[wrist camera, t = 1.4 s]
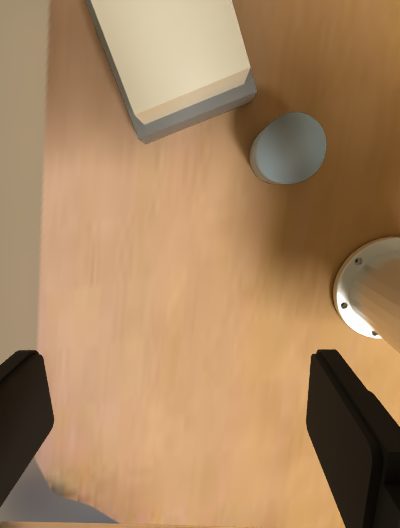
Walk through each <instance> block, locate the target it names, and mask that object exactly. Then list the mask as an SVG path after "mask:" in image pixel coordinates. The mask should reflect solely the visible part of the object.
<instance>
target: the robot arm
mask: <svg viewBox="0 0 400 528" xmlns="http://www.w3.org/2000/svg"><path fill="white" fill-rule="evenodd" d="M355 260H356V261H355ZM333 300H334V305H335V308H336V310H337V313H338V315H339V316H340V317H341V319H342V320H343V321H344V322H345V323H346V324H347V325H348V326H349V327H350V328H351V329H353V330H354V331H355V332H357V333H359V334H361V335H364V336H366V337H370V338H379V339H384V340H385V341H386V342H387V343H389V344H390V345H391V346H392V347H393V348H394V349H396V350H397V351H398V352H399V353H400V237H385V238H380V239H377V240H374V241H371V242H369V243H367V244H365V245H363V246H361V247H360V248H358V249H357V250H356V251H355V252H353V253H352V254H351V255H350V256H349V257H348V258H347V259H346V260H345V262H344V263H343V265H342V266H341V268H340V269H339V271H338V274H337V276H336V279H335V282H334V287H333ZM341 303H342V304H341ZM53 424H54V415H53V410H52V404H51V398H50V393H49V387H48V382H47V376H46V371H45V365H44V359H43V356H42V355H39V353H38V352H37V351H36V350H19V351H17V352H15V353H14V354H13V355H12V356H10V357H9V358H8V359H7V360H6V361H5V362H3V363H2V364H1V365H0V507H1V505H2V504H3V502H4V501H5V499H6V498H7V496H8V495H9V493H10V491H11V490H12V489H13V487H14V486H15V484H16V483H17V481H18V480H19V478H20V477H21V475H22V474H23V472H24V471H25V469H26V467H27V466H28V464H29V463H30V461H31V460H32V458H33V457H34V455H35V454H36V452H37V451H38V449H39V448H40V446H41V445H42V443H43V442H44V440H45V439H46V437H47V436H48V434H49V433H50V431H51V429H52V427H53ZM306 425H307V430H308V433H309V436H310V438H311V441H312V443H313V446H314V449H315V451H316V454H317V456H318V459H319V461H320V464H321V466H322V469H323V471H324V474H325V476H326V479H327V481H328V484H329V487H330V489H331V492H332V494H333V497H334V499H335V502H336V504H337V507H338V509H339V512H340V514H341V517H342V519H343V522H344V524H345V527H346V528H400V427H399V426H398V424H397V423H396V422H395V420H394V419H393V418H392V417H391V415H390V414H389V413H388V412H387V410H386V409H385V408H384V406H383V405H382V404H381V403H380V401H379V400H378V399H377V398H376V396H375V395H374V394H373V393H372V392H370V391H368V390H367V389H366V387H365V386H364V385H363V384H362V382H361V381H360V380H359V378H358V377H357V376H356V374H355V373H354V372H353V371H352V369H351V368H350V367H349V365H348V364H347V363H346V361H345V360H344V359H343V358H342V356H341V355H340V354H339V352H338V351H337V350H334V349H332V350H317V353H316V354H312V356H311V365H310V377H309V390H308V403H307V416H306ZM0 528H255V527H221V526H187V525H147V524H104V523H103V524H101V523H57V522H55V523H54V522H0Z"/></svg>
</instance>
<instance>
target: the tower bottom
mask: <svg viewBox="0 0 400 528" xmlns="http://www.w3.org/2000/svg"><path fill="white" fill-rule="evenodd" d="M85 2H86V5H87V7H88V10H89V12H90V15H91V18H92V20H93V23H94V25H95V28H96V31H97V33H98V36H99V38H100V41H101V43H102V46H103V49H104V51H105V54H106V56H107V59H108V61H109V64H110V67H111V69H112V72H113V74H114V77H115V80H116V82H117V85H118V87H119V90H120V92H121V95H122V98H123V100H124V103H125V105H126V108H127V110H128V113H129V116H130V118H131V121H132V123H133V126H134V129H135V131H136V134H137V136H138V139H139V140H141V141H142V142H143V143H145V144H147V143H150V142H152V141H155V140H157V139H160V138H162V137H165V136H167V135H170V134H172V133H175V132H177V131H180V130H182V129H185V128H187V127H190V126H192V125H195V124H197V123H200V122H202V121H205V120H207V119H210V118H212V117H215V116H217V115H220V114H222V113H225V112H227V111H230V110H232V109H235V108H237V107H240V106H242V105H245V104H247V103H250V102H252V100H253V98H254V97H255V95H256V93H257V88H256V84H255V81H254V77H253V74H252V70H251V67H250V70H249V73H248V75H247V78H246V80H245V83H244V84H243V85H241V86H238V87H236V88H233V89H231V90H228V91H226V92H223V93H221V94H219V95H216V96H214V97H211V98H209V99H206V100H204V101H201V102H199V103H197V104H194V105H192V106H189V107H187V108H184V109H182V110H179V111H177V112H174V113H172V114H170V115H167V116H165V117H162V118H160V119H157V120H155V121H152V122H150V123H148V124H145V125H144V124H143V123H142V122H141V121H140V120H139V119H138V118H137V117H136V116H135V115H134V112H133V110H132V107H131V104H130V102H129V99H128V97H127V94H126V91H125V89H124V86H123V83H122V81H121V78H120V76H119V73H118V70H117V68H116V65H115V63H114V60H113V57H112V55H111V52H110V50H109V47H108V44H107V42H106V39H105V37H104V34H103V31H102V29H101V26H100V23H99V21H98V18H97V16H96V13H95V10H94V8H93V5H92V3H91V0H85ZM242 39H243V38H242ZM244 46H245V45H244Z"/></svg>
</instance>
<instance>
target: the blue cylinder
mask: <svg viewBox="0 0 400 528" xmlns="http://www.w3.org/2000/svg"><path fill="white" fill-rule="evenodd" d="M326 149H327V141H326V136H325V132H324V130H323V128H322V126H321V125H320V124H319V122H318V121H317V120H316V119H314V118H313V117H311V116H310V115H308V114H305V113H301V112H291V113H286V114H283V115H281V116H279V117H278V118H276V119H275V120H273V121H272V122H271V123H270V124H269V125H268V126H267V127H266V128H265V129H264V130H263V131H261V132H260V133H259V134H258V135H257V137H256V138H255V139H254V141H253V143H252V145H251V148H250V153H249V161H250V166H251V168H252V170H253V172H254V174H255V175H256V176H257V177H258V178H259V179H260V180H262V181H264V182H266V183H270V184H294V183H299V182H302V181H304V180H306V179H308V178H310V177H311V176H312V175H313V174H314V173H315V172H316V171H317V170H318V169H319V168H320V166H321V164H322V163H323V160H324V158H325V155H326Z"/></svg>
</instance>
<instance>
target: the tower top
mask: <svg viewBox="0 0 400 528" xmlns="http://www.w3.org/2000/svg"><path fill="white" fill-rule="evenodd" d="M91 3H92V5H93V8H94V10H95V13H96V16H97V18H98V21H99V23H100V26H101V29H102V31H103V34H104V37H105V39H106V42H107V44H108V47H109V50H110V52H111V55H112V57H113V60H114V63H115V65H116V68H117V70H118V73H119V76H120V78H121V81H122V83H123V86H124V89H125V91H126V94H127V97H128V99H129V102H130V104H131V107H132V110H133V112H134V115H135V116H136V117H137V118H138V119H139V120H140V121H141V122H142V123H143V124H144V125H145V124H148V123H150V122H152V121H155V120H157V119H160V118H162V117H165V116H167V115H170V114H172V113H174V112H177V111H179V110H182V109H184V108H187V107H189V106H192V105H194V104H197V103H199V102H201V101H204V100H206V99H209V98H211V97H214V96H216V95H219V94H221V93H223V92H226V91H228V90H231V89H233V88H236V87H238V86H241V85H243V84H244V83H245V80H246V78H247V75H248V73H249V70H250V63H249V60H248V56H247V53H246V49H245V46H244V42H243V39H242V35H241V31H240V28H239V24H238V21H237V17H236V14H235V10H234V7H233V3H232V0H91Z"/></svg>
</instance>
